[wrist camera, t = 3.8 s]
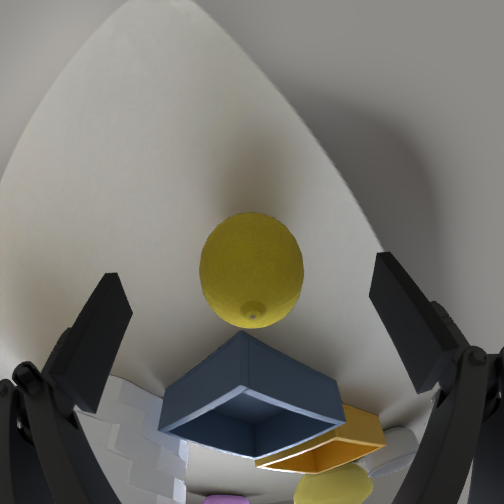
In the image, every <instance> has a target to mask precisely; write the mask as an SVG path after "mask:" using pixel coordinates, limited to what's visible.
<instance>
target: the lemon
mask: <svg viewBox="0 0 504 504" xmlns="http://www.w3.org/2000/svg"><path fill="white" fill-rule="evenodd" d="M199 273H200V280H201V286H202V291H203V294H204V296H205V298H206V300H207V302H208V304H209V306H210V307H211V308H212V310H213V311H214V312H215V313H216V314H217V315H218V316H219V317H220V318H222V319H223V320H225V321H226V322H228V323H230V324H232V325H235V326H238V327H242V328H261V327H266V326H269V325H271V324H274V323H276V322H277V321H279V320H280V319H282V318H284V317H285V316H286V315H287V314H288V313H289V312H290V311H291V310H292V308H293V307H294V305H295V304H296V302H297V300H298V298H299V296H300V293H301V288H302V284H303V278H304V269H303V259H302V254H301V251H300V249H299V246H298V244H297V241H296V239H295V238H294V236H293V235H292V234H291V232H290V231H289V230H288V229H287V227H286V226H285V225H283V224H282V223H281V222H279V221H278V220H276V219H275V218H273V217H270V216H268V215H265V214H261V213H253V212H249V213H241V214H237V215H235V216H232V217H229V218H228V219H226V220H225V221H223V222H222V223H220V224H219V225H218V226H217V227H216V228H215V229H214V231H213V232H212V233H211V234H210V235H209V237H208V239H207V241H206V243H205V245H204V248H203V250H202V253H201V260H200V269H199Z"/></svg>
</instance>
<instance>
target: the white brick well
mask: <svg viewBox="0 0 504 504" xmlns="http://www.w3.org/2000/svg"><path fill="white" fill-rule="evenodd" d="M162 404H163V399H161V398H159V397H157V396H155V395H153V394H151V393H149V392H147V391H145V390H143V389H142V388H140V387H138V386H136V385H134V384H132V383H131V382H129V381H127V380H125V379H122V378H119V377H115V376H112V375H109V376H108V379H107V382H106V385H105V388H104V391H103V394H102V397H101V400H100V403H99V406H98V409H97V412H96V414H92V413H88V412H83V411H81V410H80V409H79V408H78V406H77V405H76V404H75V407H74V409H73V410H74V411H75V412H76V414H77V416H78V419H79V421H80V424H81V426H82V428H83V431H84V433H85V435H86V438H87V440H88V442H89V444H90V447H91V449H92V451H93V453H94V455H95V457H96V459H97V461H98V463H99V465H100V467H101V469H102V471H103V473H104V474H105V476H106V478H107V480H108V482H109V483H110V485H111V487H112V488H113V490H114V492H115V493H116V495H117V497H118V498H119V500H120V502H121V503H122V504H185V499H186V486H185V485H184V481H185V469H186V468H187V467H188V459H189V447H188V446H187V444H188V442H187V441H184V440H181V439H178V438H176V437H173V436H170V435H167V434H165V433H162V432H160V431H158V425H159V420H160V414H161V409H162ZM19 428H20V425H19Z"/></svg>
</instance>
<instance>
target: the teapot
mask: <svg viewBox="0 0 504 504" xmlns="http://www.w3.org/2000/svg"><path fill="white" fill-rule="evenodd" d="M200 504H251V503H249V501H248V500H247V499H246V498H245V497H242V496H234V495H210V496H208V497H207V498H206V499H205V500H204V501H203V502H202V503H200Z"/></svg>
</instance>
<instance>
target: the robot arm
mask: <svg viewBox="0 0 504 504" xmlns="http://www.w3.org/2000/svg"><path fill="white" fill-rule="evenodd" d="M369 298H370V300H371V301H372V303H373V305H374V307H375V309H376V311H377V312H378V314H379V316H380V318H381V320H382V322H383V324H384V326H385V328H386V330H387V332H388V333H389V335H390V337H391V339H392V341H393V343H394V345H395V347H396V349H397V351H398V353H399V356H400V358H401V360H402V362H403V364H404V366H405V368H406V370H407V372H408V375H409V377H410V379H411V381H412V383H413V386H414V388H415V390H416V392H417V394H420V393H423V392H426V391H429V390H432V388H433V387H434V386H435V384H436V383H437V381H438V383H439V385H440V388H439V390H438V391H437V392H436V394H435V395H434V396H433V398H432V400H431V402H433V401H434V400H435V403H434V406H433V409H432V412H431V416H430V419H429V421H428V424H427V427H426V430H425V433H424V435H423V438H422V441H421V443H420V446H419V448H418V451H417V453H416V455H415V458H414V460H413V462H412V465H411V467H410V469H409V471H408V473H407V475H406V477H405V479H404V481H403V483H402V485H401V487H400V489H399V491H398V493H397V495H396V496H395V498H394V500H393V502H392V504H457V502H458V500H459V497H460V495H461V492H462V490H463V487H464V484H465V481H466V478H467V476H468V473H469V470H470V466H471V463H472V460H473V467H472V476H471V485H470V491H469V497H468V502H467V504H504V347H503V348H502V349H501V351H500V353H499V354H486V352H485V351H484V350H483V349H482V348H479V347H477V346H470V345H469V343H468V341H467V340H466V339H465V337H464V335H463V334H462V333H461V331H460V330H459V328H458V327H457V325H456V324H455V323H454V322H453V320H452V318H451V317H449V314H448V313H447V312H446V310H445V309H444V308H443V307H442V306H441V305H440V304H438V303H437V302H436V301H432V302H429V301H428V299H427V298H426V297H425V296H424V294H423V293H422V292H421V290H420V289H419V287H418V286H417V285H416V284H415V282H414V281H413V280H412V278H411V277H410V276H409V275H408V273H407V272H406V271H405V270H404V268H403V267H402V266H401V265H400V263H399V262H398V261H397V260H396V259H395V257H394V256H393V255H392V254H391V253H390V252H381V253H377V256H376V261H375V267H374V272H373V277H372V282H371V287H370V292H369ZM132 314H133V312H132V310H131V307H130V305H129V302H128V300H127V297H126V295H125V292H124V289H123V287H122V284H121V281H120V279H119V276H118V273H105V274H104V276H103V277H102V279H101V280H100V282H99V283H98V285H97V286H96V288H95V290H94V291H93V293H92V294H91V296H90V298H89V299H88V301H87V302H86V304H85V306H84V307H83V309H82V311H81V312H80V314H79V316H78V317H77V319H76V321H75V323H74V324H73V326H72V328H69V327H68V328H67V329H66V330H65V331H64V332H63V333H62V334H61V336H60V338H59V339H58V341H57V345H55V347H54V349H53V351H52V352H51V354H50V356H49V358H48V360H47V362H46V364H45V366H44V368H43V370H42V372H41V373H40V372H39V370H38V369H37V368H36V366H35V365H34V364H33V363H32V362H30V361H25V362H22V363H21V364H19V365H18V366H17V367H16V368H15V369H14V372H13V374H12V380H13V381H14V382H15V383H16V384H17V385H18V386H14V384H13V383H12V382H11V381H10V380H8V379H3V380H1V381H0V504H122V503H121V502H120V500H119V498H118V497H117V495H116V493H115V492H114V490H113V488H112V487H111V485H110V483H109V482H108V480H107V478H106V476H105V474H104V473H103V471H102V469H101V467H100V465H99V463H98V461H97V459H96V457H95V455H94V453H93V451H92V449H91V447H90V444H89V442H88V440H87V438H86V435H85V433H84V431H83V428H82V426H81V424H80V421H79V419H78V416H77V414H76V412H75V411H74V410H73V409H74V407H75V404H76V405H77V406H78V408H79V409H80V410H81V411H83V412H88V413H92V414H96V412H97V409H98V406H99V403H100V400H101V397H102V394H103V391H104V388H105V385H106V382H107V379H108V376H109V373H110V371H111V368H112V365H113V362H114V360H115V357H116V354H117V352H118V349H119V347H120V344H121V341H122V339H123V336H124V334H125V331H126V329H127V326H128V324H129V322H130V319H131V317H132ZM499 392H500V393H501V398H500V394H499ZM435 398H436V399H435ZM17 421H18V422H19V423H20V428H18V427H17Z"/></svg>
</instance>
